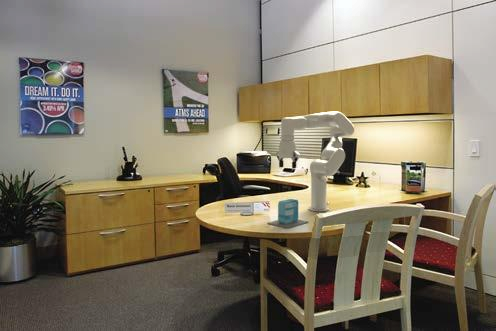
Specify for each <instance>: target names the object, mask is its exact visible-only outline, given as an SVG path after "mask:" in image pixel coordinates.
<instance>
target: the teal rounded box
mask: <svg viewBox="0 0 496 331" xmlns="http://www.w3.org/2000/svg"><path fill="white" fill-rule="evenodd" d="M277 203H278V204H277V220H278V222H279V223H282V224H288V223H292V222H296V221H297V220H298V219H299V200H298V199H294V198H288V199H284V200H283V199H282V200H280V201H279V202H277Z"/></svg>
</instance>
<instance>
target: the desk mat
mask: <svg viewBox="0 0 496 331" xmlns="http://www.w3.org/2000/svg"><path fill="white" fill-rule="evenodd" d="M304 224H305V225H306V224H309V220H308V221H307V220H304V219H299V218H298V220H297V221H296V222H292V223H288V224H282V223H279V222H278V219H277V220H274V221H269V222H267V225H271V226H275V227H280V228H284V229H291V228H295V227H298V226H302V225H304Z"/></svg>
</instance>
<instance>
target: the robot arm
mask: <svg viewBox="0 0 496 331" xmlns="http://www.w3.org/2000/svg"><path fill="white" fill-rule="evenodd" d="M280 124H281V126H280V127H281V128H280V131H281V132H280V133H281V135H280V137H279V138H280V141H279V145H278V151H277V152H276V153H275V155H276V158H277V161H279V162H278V168H283V167H284V159H291V160H292V162H291V169H297V162H298V160H299V158H300V156H301V154H300V153H299V152H297V147H296V141H295V131H303V130H305V129H317V128H322V127H329V126H330V127H329V134H330V140H329V142H328V143H327V144H326V147H324V149H323V150H322V152H321V153H320V159H314V160H313V161H311V162H310V164H309V170H310V171H309V172H310V180H311V181H310V182H311V184H310V187H311V188H310V206H308V210H309V211H312V212H326V211H329V207H328V206H329V205H330V202H329V201H327V188H328V187H327V185H328V184H327V178H326V177H332V176H334V175H335V174H337V171H338V170H339V169H340V167H341V166H342V164H343V163H344V161H345V159H346V153H345V151H344V149H343V141H342V140H343V139H342V137H350V136H352V135H353V134H354V133H355V126H354V124H353V123H352V122H351V121H350V120H349V119H348V117H346V115H345V114H343V113H342V112H340V111H327V112H325V111H324V112H319V113H313V114H311V113H310V114H307V115H299V116H292V117H282V118H281V121H280Z"/></svg>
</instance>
